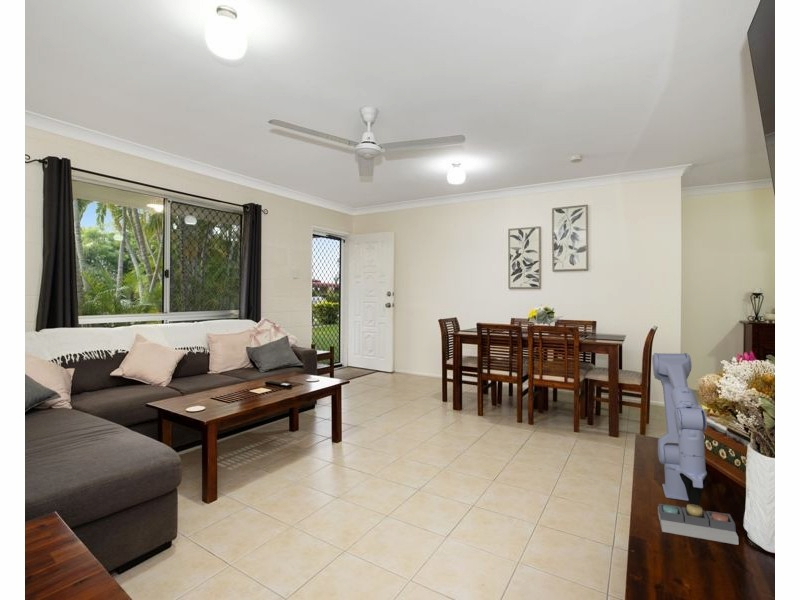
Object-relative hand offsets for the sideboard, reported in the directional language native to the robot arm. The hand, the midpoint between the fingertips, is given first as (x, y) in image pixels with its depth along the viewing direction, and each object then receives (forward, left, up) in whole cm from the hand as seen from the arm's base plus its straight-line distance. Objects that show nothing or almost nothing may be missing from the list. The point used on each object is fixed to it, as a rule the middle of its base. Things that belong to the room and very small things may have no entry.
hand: (694, 503), depth 111 cm
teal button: (0, -5, -4) cm, 7 cm away
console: (0, 0, -7) cm, 7 cm away
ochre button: (0, 0, -3) cm, 3 cm away
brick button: (0, +5, -4) cm, 7 cm away
